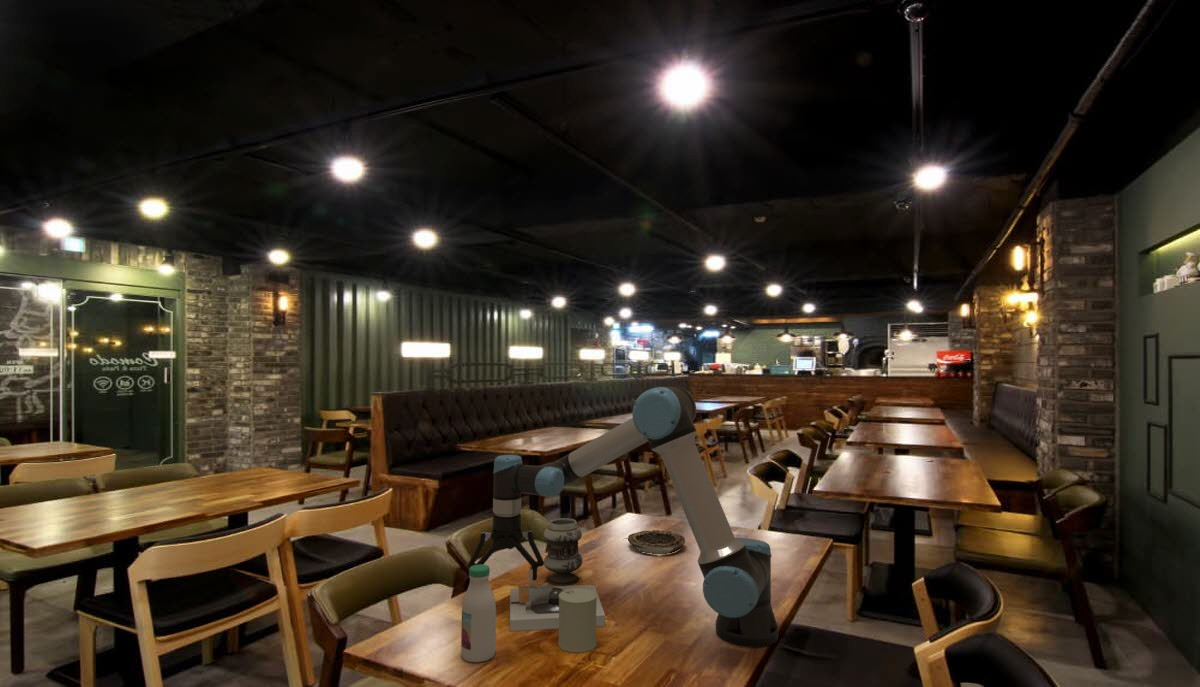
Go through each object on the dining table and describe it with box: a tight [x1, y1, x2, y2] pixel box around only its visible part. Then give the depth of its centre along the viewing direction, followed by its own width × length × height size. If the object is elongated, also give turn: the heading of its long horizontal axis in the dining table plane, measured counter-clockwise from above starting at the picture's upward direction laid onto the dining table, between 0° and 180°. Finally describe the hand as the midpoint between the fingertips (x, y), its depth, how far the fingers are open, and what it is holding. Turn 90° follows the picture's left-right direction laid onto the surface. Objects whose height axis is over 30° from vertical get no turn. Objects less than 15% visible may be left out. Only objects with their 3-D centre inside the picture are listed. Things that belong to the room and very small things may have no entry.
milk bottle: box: [460, 564, 497, 663], centre depth 143 cm, size 8×8×20 cm
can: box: [557, 588, 598, 654], centre depth 149 cm, size 9×9×12 cm
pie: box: [624, 529, 686, 554], centre depth 226 cm, size 28×27×5 cm
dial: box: [518, 583, 563, 614], centre depth 168 cm, size 16×13×6 cm
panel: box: [509, 584, 606, 632], centre depth 168 cm, size 22×24×3 cm
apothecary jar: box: [543, 517, 583, 586], centre depth 193 cm, size 12×12×18 cm
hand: (505, 593), depth 168 cm, fingers open, 13 cm apart
